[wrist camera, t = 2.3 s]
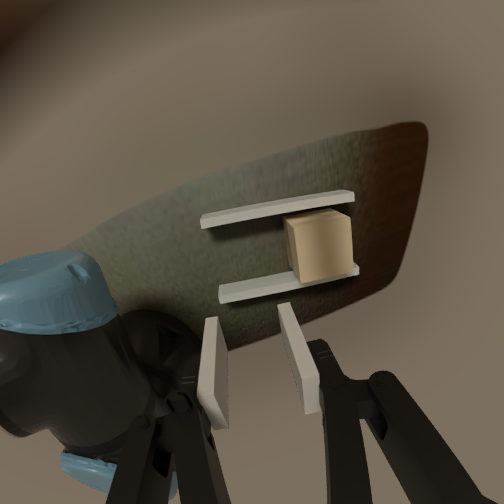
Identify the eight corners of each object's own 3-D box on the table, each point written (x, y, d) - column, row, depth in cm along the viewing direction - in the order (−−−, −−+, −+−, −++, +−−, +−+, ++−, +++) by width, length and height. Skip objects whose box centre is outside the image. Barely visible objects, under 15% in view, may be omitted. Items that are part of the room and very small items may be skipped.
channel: (220, 292, 34) (220, 303, 31) (202, 214, 31) (199, 219, 28) (349, 265, 34) (359, 274, 31) (343, 189, 31) (353, 192, 28)
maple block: (289, 263, 34) (300, 283, 28) (282, 216, 32) (293, 227, 26) (334, 254, 34) (353, 271, 28) (329, 207, 32) (350, 217, 26)
